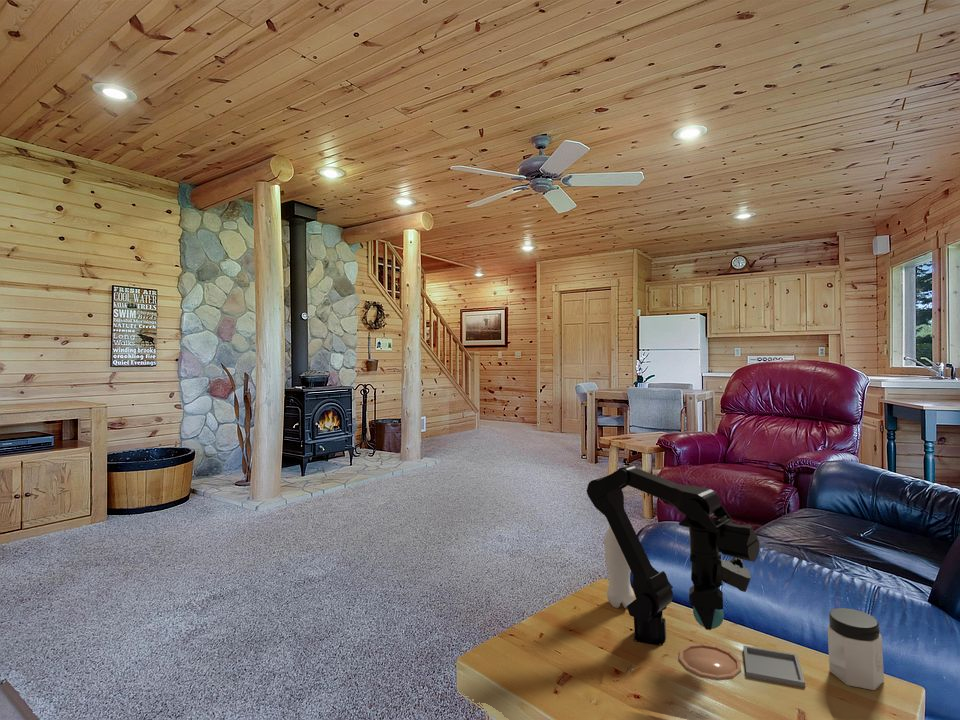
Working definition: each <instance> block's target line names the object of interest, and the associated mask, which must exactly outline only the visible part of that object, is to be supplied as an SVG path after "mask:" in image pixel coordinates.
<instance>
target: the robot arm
mask: <svg viewBox="0 0 960 720" xmlns="http://www.w3.org/2000/svg"><path fill="white" fill-rule="evenodd" d="M626 487H631V488H634V489H636V490H638V491H641V492H643V493H646V494H648V495H651V496H653V497H655V498H658V499H660V500H662V501H665V502H667V503H669V504H671V505H672V506H674V508H676V510H677V511H679V513H681V514H683V515H684V518H683V519H682V520H680V521H679V522H678V525H679V526H681V527H685V528H688V534H689V535H688V536H689V550H690V551H689V562H690V568H691V572H690V573H691V574H690V581H691V582H692V585H691V587H690V588H689V589H688V590H689V593H688V601H689V606H692V607H695V609H696V611H697V613H698V615H699V617H700V619H701V621H702V623H703V625H704V627H703V628H705V630H706V631H707V630H708V631H711V630H713V629H712V623H713V618H714V612H715V609H718V610H721V609H722V610H724V596H723V595H724V593H723V590H721V589H720V587H721V586H723V583H725V584H727V585H729V586H731V587H733V588H735V589H738V590H739V592H740V591H741V592H744V593H745V592H747V589H748V587H749V584H750V582H751V578H752V576H751V572H750V570H749V569H748V568H747V567H744V562H743V561H747V562H752V563H754V562H756V561H757V559H758V557H759V554H760V539H758V538H759V537H758V535H757V533H756V532H755V531H754V530H755V529H754V526H753V525H749V524H738V523H734V522H733V518H732V516H731V515H730V514H729V513H728V511H727V510H726V508H725V507H724V505H723V504H722V502H721V499H720V497H719V496H718V494H717V492H716V491H715V490H713V489H711V488H707V487H702V486H698V485H689V484H688V485H685V484H680V483H677V482H674V481H671V480H669V479H666V478H663V477H661V476H658V475H656V474H653V473H650V472H648V471H645V470H642V469H640V468H637V467H636V466H635V465H632V464H629V465H625V466H622V467H619V468H618V469H617V470H615V471H614V472H612V473H611V474H608V475H605V476H602V477H598V478H596V479H593V480H591V481H589V482H588V484H587V488H586V494H587V497H588V498H589V500H590V501H591V503H592V505H593V507H594V508H596V510H598V511H599V512H600V513H601V514H602V515H603V516H604V517H605V519H606V521H607V523H608V525H609V527H611V529H612V531H613V533H614V535H615V538H616V540H617V542H618V544H619V546H620V548H621V550H622V553H623V555H624V557H625V559H626V561H627V563H628V565H629V568H630V570H631V572H630V573H631V574H632V590H633V592H634V598H635V599H633V602H632V603H630V604H629V605H628V606H627V608H626V609H627V611H628V614H629V616H630V617H632V618H633V626H634V628H633V633H634V636H633V641H634V642H637V643H643V644H648V645H654V646H659V647H662V646H664V642H666V640H667V623H666V618H664V615H663V612H664V610H667V607H668V605H670V604H671V603H672V601H673V598H674V593H673V588H674V587H673V585H672V584H671V582H670V581H669V579H668V577H667V574H666V572H665V571H664V570H662V571H661V572H660V571H658V570H657V569H656V568H654V567H653V566H652V563H651V561H650V560H649V558H648V555H647V553H646V552H645V549H644V546H643V545H642V543H641V541H640V539H639V537H638V535H637V533H636V531H635V528H634V527H633V524H632V522H631V520H630V518H629V516H628V513H627V512H626V510H625V497H624V496H625V495H624V492H623V489H625V488H626ZM712 516H715V517H714V518H712ZM722 555H723V556H726V557H731V559H730V560H729V559H728V560H724V559H722Z"/></svg>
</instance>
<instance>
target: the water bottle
mask: <svg viewBox="0 0 960 720" xmlns="http://www.w3.org/2000/svg"><path fill="white" fill-rule="evenodd" d="M603 545H604V557H605V560H604V564H605V566H606V569H607V571H608V577H609V578H608V586H607V589H606V597H607V600H608V602H609V603H610V604H611V605H612V607H613V608H616V609H620V606H621V604H622V606H623V608H624V609H627V606H628V605H629V604H630V603H632V602H633V601H634V600H635V599H634V598H635V594H634V591H633V586H632V584H631V573H632V572H631V570H630V568H629V565H628V563H627V561H626V559H625V557H624V555H623V553H622V550H621V548H620V546H619V544H618V542H617V540H616V538H615V535H614V533H613V531H612V529H611V527H610V526H609V527H608V529H607V531H606V533H605V535H604V539H603Z"/></svg>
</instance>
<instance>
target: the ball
mask: <svg viewBox="0 0 960 720" xmlns="http://www.w3.org/2000/svg"><path fill="white" fill-rule="evenodd" d="M692 613H693V617H694V620H695V621H696V622H697V623H698V625H700V626H702V627H703V628H705V627H704V625H703V623H702V621H701V619H700V617H699V615H698V613H697V611H696V609H695V607H694V606H692ZM724 614H725V613H724V609H721V610H718V609H715V612H714V618H713V623H712V629H711V630H715V629H717V628H719V627H720V626H721V625H722V624H723V622H724V617H725V616H724Z"/></svg>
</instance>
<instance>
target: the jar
mask: <svg viewBox="0 0 960 720" xmlns="http://www.w3.org/2000/svg"><path fill="white" fill-rule="evenodd" d="M828 617H829V618H828V619H829V625H827V643H828V644H827V645H828V646H827V648H828V663H829V664H828V665H829V672H830V673H831V674H833V675H834V676H835V677H836V678H838V679H839V680H840V681H841V682H842V683H844V684H845V685H847V686H850V687H856V688H861V689H866V690H871V691H876V690H877V688H879V686H881V685H882V684H883V683H884V681H885V678H884V677H885V676H884V659H883V658H884V657H883V655H884V654H883V653H884V652H883V637H882V634H881V633H880V631H881V630H880V623H879V621H878V620H877V618H875V617H874V616H872V615H871V614H869V613H867V612H864V611H861V610H858V609H854V608H853V609H852V608H846V607H836V608H833V609H831V610H830V611H829V613H828Z"/></svg>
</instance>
